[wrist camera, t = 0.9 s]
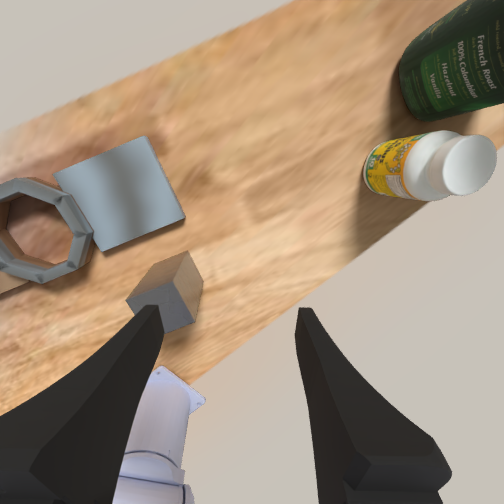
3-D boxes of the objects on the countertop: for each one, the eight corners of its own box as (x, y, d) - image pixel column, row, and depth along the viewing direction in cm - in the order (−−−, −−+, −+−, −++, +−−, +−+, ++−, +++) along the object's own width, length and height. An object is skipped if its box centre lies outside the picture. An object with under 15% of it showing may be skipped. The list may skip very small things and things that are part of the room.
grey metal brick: (170, 294, 28) (150, 339, 21) (153, 264, 27) (125, 300, 20) (203, 281, 28) (195, 321, 21) (187, 250, 27) (172, 281, 20)
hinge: (-37, 313, 27) (-62, 326, 25) (-107, 237, 24) (-141, 244, 22) (188, 221, 26) (184, 225, 24) (144, 131, 23) (135, 126, 21)
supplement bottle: (376, 204, 28) (450, 221, 18) (351, 163, 26) (419, 160, 17) (418, 172, 27) (517, 173, 18) (396, 128, 25) (491, 104, 16)
